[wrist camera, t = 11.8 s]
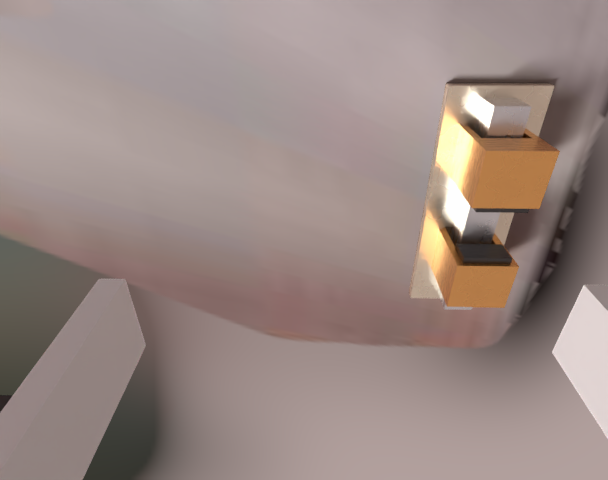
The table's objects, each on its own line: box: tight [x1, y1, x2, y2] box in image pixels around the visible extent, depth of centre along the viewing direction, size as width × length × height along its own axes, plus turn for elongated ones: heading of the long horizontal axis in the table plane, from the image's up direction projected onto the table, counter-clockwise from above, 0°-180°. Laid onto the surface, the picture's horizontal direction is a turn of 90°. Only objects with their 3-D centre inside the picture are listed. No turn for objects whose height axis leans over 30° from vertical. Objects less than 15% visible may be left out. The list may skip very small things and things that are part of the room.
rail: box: [409, 83, 560, 310], centre depth 39 cm, size 24×9×8 cm, turn 0°
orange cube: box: [431, 229, 519, 308], centre depth 41 cm, size 6×6×6 cm
